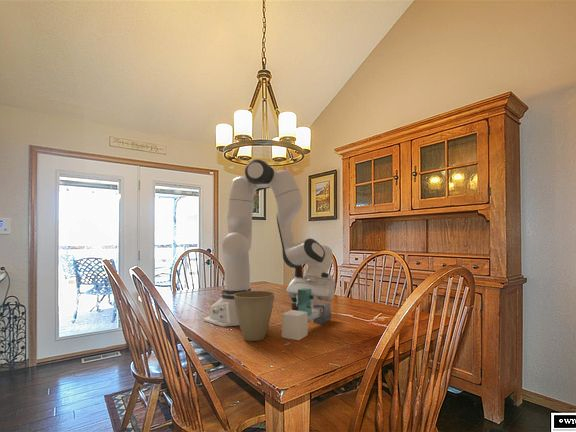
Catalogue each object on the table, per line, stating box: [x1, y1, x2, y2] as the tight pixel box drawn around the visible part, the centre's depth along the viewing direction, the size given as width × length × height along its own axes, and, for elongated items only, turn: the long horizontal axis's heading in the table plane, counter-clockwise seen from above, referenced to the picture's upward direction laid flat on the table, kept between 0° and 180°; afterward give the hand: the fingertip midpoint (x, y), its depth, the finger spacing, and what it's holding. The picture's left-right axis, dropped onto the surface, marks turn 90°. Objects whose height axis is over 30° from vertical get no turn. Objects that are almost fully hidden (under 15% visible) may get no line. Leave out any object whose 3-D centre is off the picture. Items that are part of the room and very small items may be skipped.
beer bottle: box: [290, 265, 304, 311], centre depth 158 cm, size 8×8×24 cm
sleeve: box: [312, 301, 332, 325], centre depth 138 cm, size 5×7×8 cm
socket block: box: [281, 309, 309, 341], centre depth 118 cm, size 7×7×8 cm
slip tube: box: [298, 288, 323, 323], centre depth 126 cm, size 4×22×13 cm, turn 149°
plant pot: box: [234, 290, 275, 342], centre depth 117 cm, size 15×15×16 cm
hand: (303, 306), depth 125 cm, fingers closed on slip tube, 4 cm apart
